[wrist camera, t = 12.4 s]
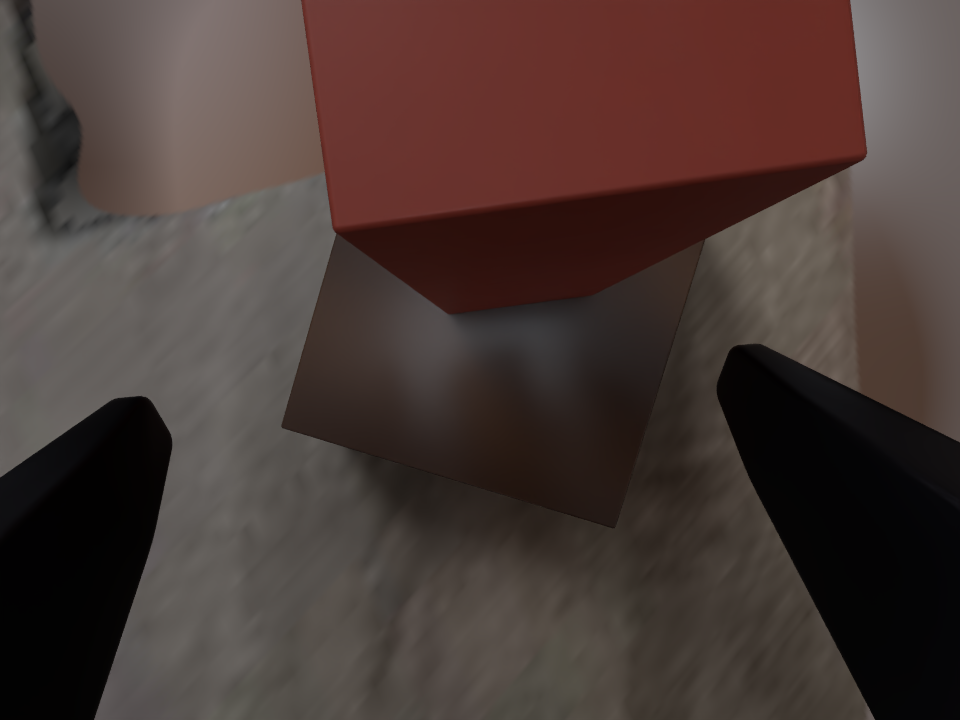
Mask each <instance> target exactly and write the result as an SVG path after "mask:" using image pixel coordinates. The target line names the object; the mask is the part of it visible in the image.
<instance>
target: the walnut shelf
mask: <svg viewBox="0 0 960 720" xmlns="http://www.w3.org/2000/svg"><path fill="white" fill-rule="evenodd" d="M704 242H705V239H704V240H702V241H700V242H698V243H696V244H694V245H692V246H690V247H688V248H686V249H684V250H682V251H680V252H678V253H676V254H674V255H672V256H670V257H668V258H666V259H664V260H662V261H660V262H658V263H656V264H654V265H652V266H650V267H648V268H646V269H644V270H642V271H640V272H638V273H636V274H634V275H632V276H630V277H628V278H626V279H624V280H622V281H620V282H618V283H616V284H614V285H612V286H610V287H608V288H606V289H604V290H602V291H600V292H598V293H596V294H594V295H590V296H583V297H575V298H568V299H560V300H553V301H545V302H538V303H531V304H523V305H516V306H508V307H501V308H493V309H486V310H478V311H471V312H463V313H456V314H447V313H446V312H444V311H443V310H441V309H440V308H439V307H437V306H436V305H435V304H433V303H432V302H430V301H429V300H428V299H426V298H425V297H423V296H422V295H421V294H419V293H418V292H417V291H415V290H414V289H412V288H411V287H410V286H408V285H407V284H406V283H404V282H403V281H401V280H400V279H399V278H397V277H396V276H395V275H393V274H392V273H390V272H389V271H388V270H386V269H385V268H383V267H382V266H381V265H379V264H378V263H377V262H375V261H374V260H372V259H371V258H370V257H368V256H367V255H366V254H364V253H363V252H361V251H360V250H359V249H357V248H356V247H355V246H353V245H352V244H350V243H349V242H348V241H346V240H345V239H344V238H342V237H341V236H339V235H338V234H336V237H335V241H334V244H333V248H332V251H331V255H330V258H329V262H328V265H327V269H326V272H325V275H324V279H323V282H322V286H321V289H320V293H319V296H318V300H317V303H316V307H315V310H314V314H313V317H312V321H311V324H310V328H309V331H308V335H307V338H306V342H305V345H304V349H303V352H302V356H301V359H300V363H299V366H298V370H297V373H296V377H295V380H294V384H293V387H292V390H291V394H290V397H289V401H288V404H287V408H286V411H285V415H284V418H283V422H282V425H281V427H282V428H284V429H287V430H291V431H294V432H297V433H301V434H304V435H307V436H310V437H314V438H317V439H320V440H324V441H327V442H330V443H334V444H337V445H340V446H343V447H347V448H350V449H353V450H357V451H360V452H363V453H367V454H370V455H373V456H376V457H380V458H383V459H386V460H390V461H393V462H396V463H400V464H403V465H406V466H409V467H413V468H416V469H419V470H423V471H426V472H429V473H433V474H436V475H439V476H442V477H446V478H449V479H452V480H456V481H459V482H462V483H465V484H469V485H472V486H475V487H479V488H482V489H485V490H489V491H492V492H495V493H498V494H502V495H505V496H508V497H512V498H515V499H518V500H522V501H525V502H528V503H531V504H535V505H538V506H541V507H545V508H548V509H551V510H555V511H558V512H561V513H564V514H568V515H571V516H574V517H578V518H581V519H584V520H588V521H591V522H594V523H597V524H601V525H604V526H607V527H611V528H615V527H616V524H617V521H618V517H619V514H620V511H621V508H622V505H623V501H624V498H625V495H626V492H627V488H628V485H629V482H630V479H631V476H632V472H633V469H634V466H635V463H636V460H637V456H638V453H639V450H640V447H641V444H642V440H643V437H644V434H645V431H646V428H647V424H648V421H649V418H650V415H651V412H652V408H653V405H654V402H655V399H656V396H657V392H658V389H659V386H660V383H661V380H662V376H663V373H664V370H665V367H666V364H667V360H668V357H669V354H670V351H671V347H672V344H673V341H674V338H675V335H676V331H677V328H678V325H679V322H680V319H681V315H682V312H683V309H684V306H685V303H686V299H687V296H688V293H689V290H690V287H691V283H692V280H693V277H694V274H695V271H696V267H697V264H698V261H699V258H700V255H701V251H702V248H703V245H704Z"/></svg>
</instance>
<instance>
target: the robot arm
mask: <svg viewBox="0 0 960 720" xmlns="http://www.w3.org/2000/svg"><path fill="white" fill-rule="evenodd" d="M717 396H718V400H719V402H720V405H721V407H722V410H723V413H724V415H725V418H726V420H727V423H728V425H729V428H730V431H731V433H732V436H733V438H734V441H735V443H736V446H737V449H738V451H739V454H740V456H741V459H742V461H743V464H744V466H745V469H746V471H747V473H748V476H749V478H750V480H751V482H752V484H753V486H754V488H755V490H756V492H757V494H758V496H759V498H760V500H761V502H762V504H763V506H764V508H765V510H766V511H767V513H768V515H769V517H770V519H771V521H772V523H773V525H774V527H775V529H776V531H777V533H778V534H779V536H780V538H781V540H782V542H783V544H784V546H785V548H786V550H787V552H788V554H789V556H790V557H791V559H792V561H793V563H794V565H795V567H796V569H797V571H798V573H799V575H800V577H801V579H802V580H803V582H804V584H805V586H806V588H807V590H808V592H809V594H810V596H811V598H812V600H813V602H814V603H815V605H816V607H817V609H818V611H819V613H820V615H821V617H822V619H823V621H824V623H825V625H826V627H827V628H828V630H829V632H830V634H831V636H832V638H833V640H834V642H835V644H836V646H837V648H838V650H839V651H840V653H841V655H842V657H843V659H844V661H845V663H846V665H847V667H848V669H849V671H850V673H851V674H852V676H853V678H854V680H855V682H856V684H857V686H858V688H859V690H860V692H861V694H862V696H863V697H864V699H865V701H866V703H867V705H868V707H869V709H870V711H871V713H872V715H873V717H874V719H875V720H960V442H958V441H956V440H954V439H952V438H950V437H948V436H946V435H944V434H942V433H939V432H938V431H936V430H934V429H932V428H929V427H927V426H925V425H923V424H921V423H919V422H917V421H915V420H913V419H911V418H909V417H907V416H905V415H903V414H901V413H899V412H897V411H895V410H893V409H891V408H889V407H887V406H885V405H883V404H881V403H879V402H877V401H875V400H873V399H871V398H869V397H867V396H865V395H863V394H861V393H859V392H857V391H855V390H853V389H851V388H849V387H847V386H845V385H843V384H841V383H839V382H837V381H835V380H832V379H830V378H828V377H826V376H824V375H822V374H820V373H818V372H816V371H814V370H812V369H810V368H808V367H806V366H804V365H802V364H800V363H798V362H796V361H794V360H792V359H790V358H788V357H786V356H784V355H782V354H780V353H778V352H776V351H774V350H772V349H770V348H768V347H766V346H764V345H761V344H746V345H737V346H734V347H733V348H732V349H731V350H730V351H729V353H728V356H727V358H726V361H725V363H724V366H723V369H722V371H721V374H720V377H719V379H718V382H717ZM171 452H172V438H171V434H170V432H169V430H168V428H167V427H166V425H165V423H164V422H163V420H162V418H161V417H160V415H159V413H158V411H157V410H156V408H155V406H154V405H153V403H152V402H151V400H149V399H148V398H146V397H143V396H135V397H124V398H117V399H114V400H111V401H110V402H108V403H107V404H105V405H104V406H103V407H101V408H100V409H98V410H97V411H95V412H94V413H93V414H91V415H90V416H88V417H87V418H85V419H84V420H82V421H81V422H80V423H78V424H77V425H75V426H74V427H72V428H71V429H69V430H68V431H67V432H65V433H64V434H62V435H61V436H59V437H58V438H57V439H55V440H54V441H52V442H51V443H49V444H48V445H46V446H45V447H44V448H42V449H41V450H39V451H38V452H36V453H35V454H33V455H32V456H31V457H29V458H28V459H26V460H25V461H23V462H22V463H21V464H19V465H18V466H16V467H15V468H13V469H12V470H10V471H9V472H8V473H6V474H5V475H3V476H2V477H0V720H94V718H95V715H96V712H97V709H98V706H99V703H100V700H101V697H102V694H103V691H104V688H105V685H106V682H107V679H108V676H109V673H110V670H111V667H112V664H113V661H114V658H115V655H116V652H117V649H118V646H119V643H120V640H121V637H122V634H123V631H124V628H125V625H126V621H127V618H128V615H129V612H130V609H131V606H132V603H133V600H134V597H135V594H136V591H137V588H138V585H139V582H140V579H141V576H142V573H143V570H144V567H145V564H146V561H147V558H148V555H149V551H150V548H151V545H152V541H153V537H154V533H155V529H156V525H157V520H158V515H159V510H160V505H161V500H162V495H163V491H164V486H165V481H166V476H167V471H168V466H169V461H170V456H171Z"/></svg>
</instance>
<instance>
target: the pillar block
mask: <svg viewBox="0 0 960 720" xmlns="http://www.w3.org/2000/svg"><path fill="white" fill-rule="evenodd" d="M301 1H302V9H303V16H304V23H305V31H306V38H307V45H308V53H309V59H310V67H311V74H312V81H313V88H314V95H315V103H316V111H317V118H318V125H319V132H320V139H321V147H322V154H323V161H324V168H325V176H326V183H327V190H328V197H329V205H330V212H331V219H332V226H333V229H334V231H335V233H337V234H338V235H339V236H341V237H342V238H344V239H345V240H346V241H348V242H349V243H350V244H352V245H353V246H355V247H356V248H357V249H359V250H360V251H361V252H363V253H364V254H366V255H367V256H368V257H370V258H371V259H372V260H374V261H375V262H377V263H378V264H379V265H381V266H382V267H383V268H385V269H386V270H388V271H389V272H390V273H392V274H393V275H395V276H396V277H397V278H399V279H400V280H401V281H403V282H404V283H406V284H407V285H408V286H410V287H411V288H412V289H414V290H415V291H417V292H418V293H419V294H421V295H422V296H423V297H425V298H426V299H428V300H429V301H430V302H432V303H433V304H435V305H436V306H437V307H439V308H440V309H441V310H443V311H444V312H446V313H447V314H456V313H463V312H471V311H478V310H486V309H493V308H501V307H508V306H516V305H523V304H531V303H538V302H545V301H553V300H560V299H568V298H575V297H583V296H590V295H594V294H596V293H598V292H600V291H602V290H604V289H606V288H608V287H610V286H612V285H614V284H616V283H618V282H620V281H622V280H624V279H626V278H628V277H630V276H632V275H634V274H636V273H638V272H640V271H642V270H644V269H646V268H648V267H650V266H652V265H654V264H656V263H658V262H660V261H662V260H664V259H666V258H668V257H670V256H672V255H674V254H676V253H678V252H680V251H682V250H684V249H686V248H688V247H690V246H692V245H694V244H696V243H698V242H700V241H702V240H704V239H706V238H708V237H710V236H712V235H714V234H716V233H718V232H720V231H722V230H724V229H726V228H728V227H730V226H732V225H734V224H736V223H738V222H740V221H742V220H744V219H746V218H748V217H750V216H752V215H754V214H756V213H758V212H760V211H762V210H764V209H766V208H768V207H770V206H772V205H774V204H776V203H778V202H780V201H782V200H784V199H786V198H788V197H790V196H792V195H794V194H796V193H798V192H800V191H802V190H804V189H806V188H808V187H810V186H812V185H814V184H816V183H818V182H820V181H822V180H824V179H826V178H828V177H830V176H832V175H834V174H836V173H838V172H840V171H842V170H844V169H846V168H848V167H850V166H852V165H854V164H856V163H858V162H860V161H862V160H864V158H865V157H866V154H867V147H866V138H865V130H864V121H863V112H862V103H861V94H860V85H859V77H858V67H857V58H856V49H855V41H854V31H853V22H852V13H851V4H850V0H301Z"/></svg>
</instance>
